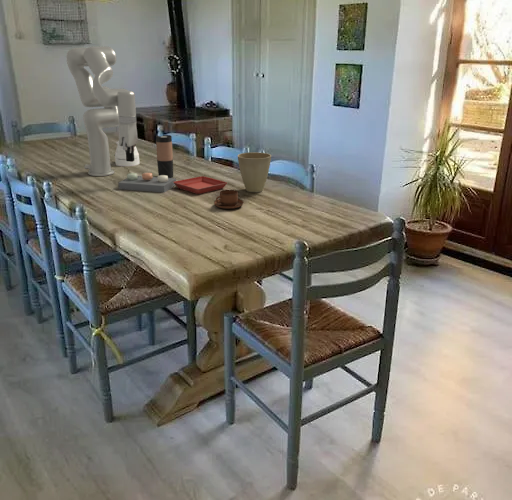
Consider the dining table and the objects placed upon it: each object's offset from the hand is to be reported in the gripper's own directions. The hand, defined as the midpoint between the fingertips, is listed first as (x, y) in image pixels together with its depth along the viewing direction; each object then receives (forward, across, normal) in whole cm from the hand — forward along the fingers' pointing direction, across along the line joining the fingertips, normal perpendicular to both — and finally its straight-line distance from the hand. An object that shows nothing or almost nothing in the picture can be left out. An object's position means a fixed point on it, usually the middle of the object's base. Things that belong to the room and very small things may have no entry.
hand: (130, 160), depth 236 cm
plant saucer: (+11, -4, +32) cm, 34 cm away
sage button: (+9, 0, +1) cm, 9 cm away
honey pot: (+13, -42, -23) cm, 50 cm away
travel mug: (+12, -20, +9) cm, 24 cm away
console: (+11, 0, +8) cm, 14 cm away
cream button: (+9, 0, +16) cm, 18 cm away
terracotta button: (+8, 0, +8) cm, 12 cm away
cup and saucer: (+10, +20, +53) cm, 57 cm away
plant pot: (+10, -6, +57) cm, 58 cm away
